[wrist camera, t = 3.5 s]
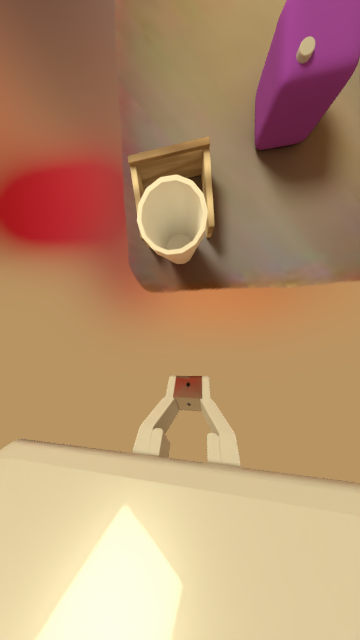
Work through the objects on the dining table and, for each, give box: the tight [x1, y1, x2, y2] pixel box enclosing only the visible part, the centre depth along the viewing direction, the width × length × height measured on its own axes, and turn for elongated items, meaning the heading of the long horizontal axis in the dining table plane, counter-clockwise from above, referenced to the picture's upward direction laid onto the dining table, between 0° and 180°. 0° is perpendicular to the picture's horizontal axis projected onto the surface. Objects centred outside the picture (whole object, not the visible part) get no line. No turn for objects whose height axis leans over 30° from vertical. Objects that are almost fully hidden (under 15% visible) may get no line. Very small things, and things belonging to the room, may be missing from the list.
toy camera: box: [255, 0, 360, 150], centre depth 20 cm, size 11×14×10 cm
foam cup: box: [137, 174, 208, 264], centre depth 24 cm, size 10×9×13 cm
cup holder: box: [128, 137, 215, 247], centre depth 27 cm, size 13×14×6 cm
